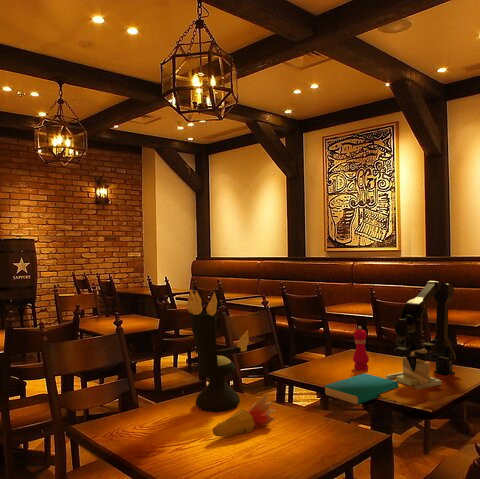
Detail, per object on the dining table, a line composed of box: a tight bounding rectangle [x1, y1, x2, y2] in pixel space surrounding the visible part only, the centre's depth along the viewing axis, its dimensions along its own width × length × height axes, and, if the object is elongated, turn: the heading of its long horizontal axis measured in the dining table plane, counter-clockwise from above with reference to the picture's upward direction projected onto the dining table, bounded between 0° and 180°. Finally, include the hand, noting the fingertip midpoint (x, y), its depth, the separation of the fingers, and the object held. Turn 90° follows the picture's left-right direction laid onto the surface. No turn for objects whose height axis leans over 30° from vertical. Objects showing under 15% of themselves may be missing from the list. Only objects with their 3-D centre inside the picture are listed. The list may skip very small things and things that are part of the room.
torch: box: [212, 394, 277, 438], centre depth 158 cm, size 8×8×25 cm
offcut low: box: [397, 381, 415, 388], centre depth 198 cm, size 4×10×2 cm, turn 25°
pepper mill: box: [352, 325, 370, 371], centre depth 227 cm, size 7×7×20 cm
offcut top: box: [395, 375, 418, 387], centre depth 198 cm, size 3×8×2 cm, turn 26°
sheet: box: [402, 357, 431, 384], centre depth 200 cm, size 3×12×10 cm, turn 25°
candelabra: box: [186, 289, 250, 413], centre depth 182 cm, size 19×22×45 cm
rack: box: [385, 371, 443, 391], centre depth 199 cm, size 13×17×3 cm
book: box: [324, 372, 400, 405], centre depth 193 cm, size 17×4×25 cm
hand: (416, 370), depth 200 cm, fingers closed on sheet, 3 cm apart
